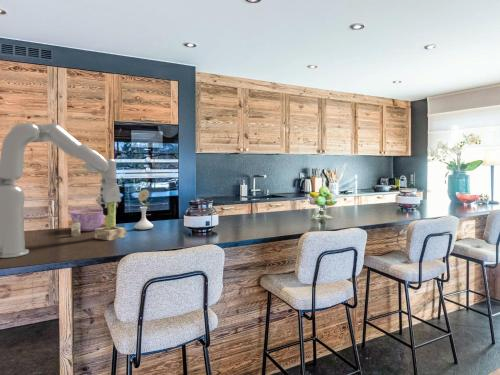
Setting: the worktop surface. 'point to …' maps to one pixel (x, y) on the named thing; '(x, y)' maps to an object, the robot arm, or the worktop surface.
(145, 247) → the worktop surface
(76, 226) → the short dowel
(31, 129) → the robot arm
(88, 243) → the worktop surface
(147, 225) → the flower in vase
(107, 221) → the tube
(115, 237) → the collar block
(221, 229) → the worktop surface
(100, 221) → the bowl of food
